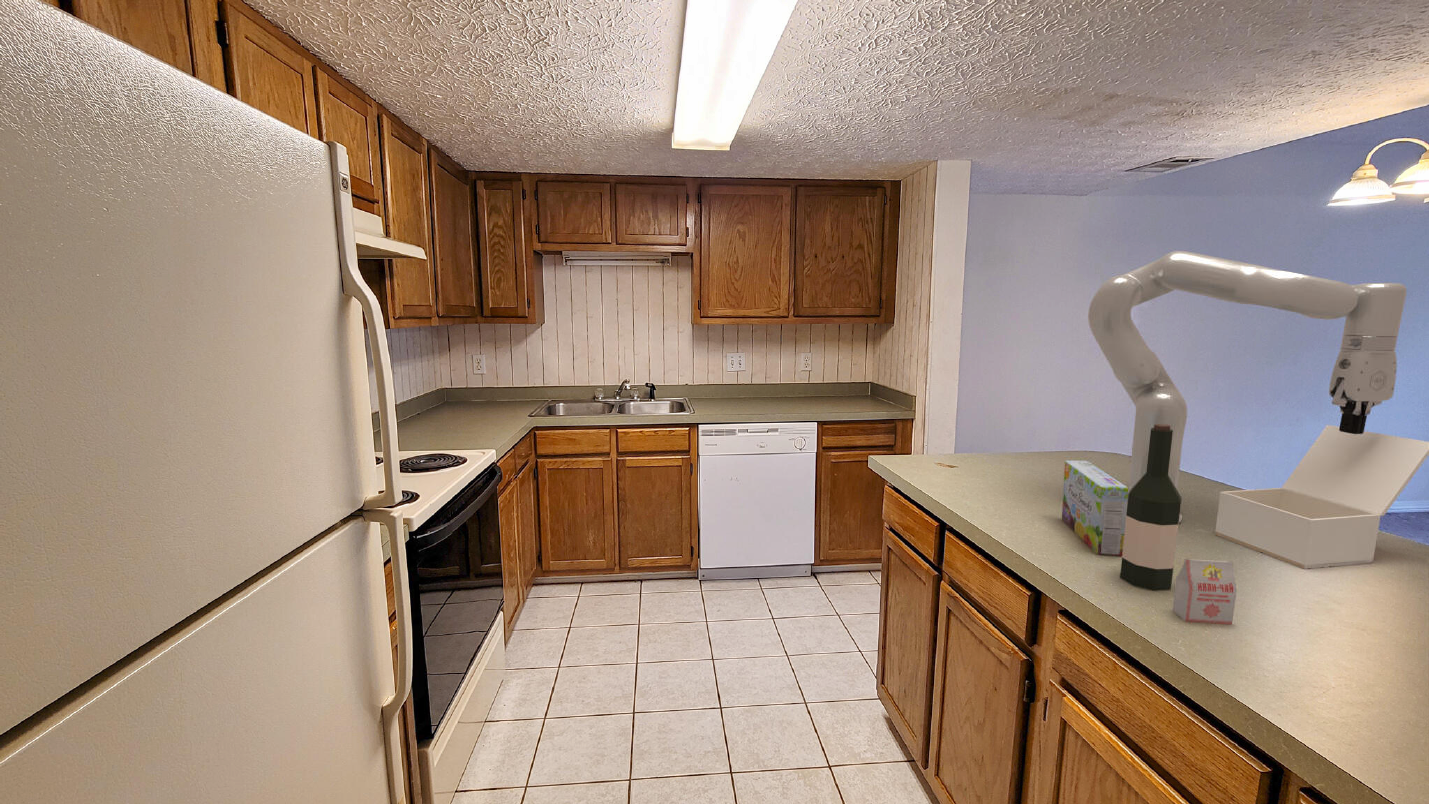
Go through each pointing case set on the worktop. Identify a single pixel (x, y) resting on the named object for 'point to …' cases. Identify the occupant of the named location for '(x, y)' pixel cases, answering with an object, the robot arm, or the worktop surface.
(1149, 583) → the wine bottle
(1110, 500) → the snack box
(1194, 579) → the white and red packet
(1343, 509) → the carton
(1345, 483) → the carton lid
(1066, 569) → the worktop surface
